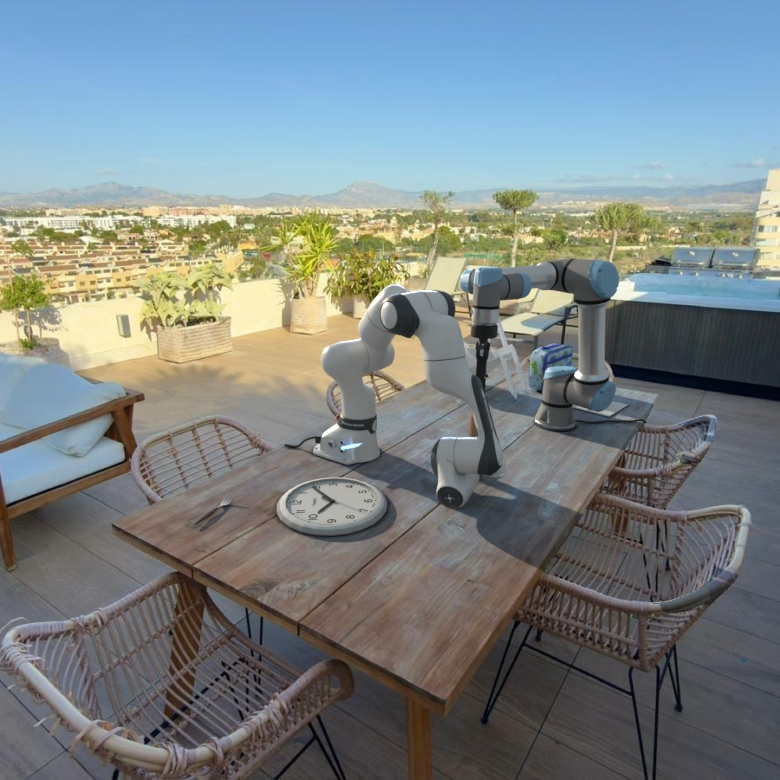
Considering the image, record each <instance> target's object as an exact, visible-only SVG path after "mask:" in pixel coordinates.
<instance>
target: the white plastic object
mask: <svg viewBox="0 0 780 780" xmlns="http://www.w3.org/2000/svg"><path fill="white" fill-rule="evenodd" d="M496 324H497V325H498V335H499V338H500V342H501V345H502V347H500V348H498V349H496V350H495V349H493V348H492V347H491V346H490V350H489V356H488V359H487V366H486V371H487V372H486V374H487V375H489V374H490V373H492V372H494V371H495V370H496V369H497V368H499V367H500V366H502V370H503V373H504V376H505V380H506V383H507V386H508V390H509V393H510V394H511V395H512V397H513V398H514V399H515V400H517V392H516V391H517V390H516V388H515V385H514V381H513V378H512V375H511V371H510V369H509V365H508V361H510V360H513V363H514V366H515V369H516V372H517V376H518V380H519V382H520V385H521V389H522V391H523V393H524V395H525V396H526V397H528V396H531V395H530V390H529V386H528V384H527V381H526V378H525V375H524V371H523V369H522V368H523V367H522V366H521V362H520V359H519V355H518V352H517V349H516V347H515V346H514V345H513V343H511V344H508V341H507V337H506V334H505V331H504V328H503V325H502V321H501V318H500V317H499V322H498V323H496ZM463 342H464V348H465V357H466V362H467V365H468V367H469V369H470V371H471V372H472V374H473V375H475V376H476V365H477V359H476V345H473V346H469V345H468V343H466V342H465V340H464V339H463Z"/></svg>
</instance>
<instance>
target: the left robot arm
mask: <svg viewBox="0 0 780 780" xmlns="http://www.w3.org/2000/svg"><path fill="white" fill-rule="evenodd" d="M455 317H456V302H455V300H454V298H453V297H452V295H451V294H450V293H448V292H447V291H444V290H439V289H432V290H427V289H426V290H425V289H424V290H422V289H421V290H414V291H409V290H408V289H407V288H405V287H403V286H402V285H399V284H390V285H386V286H385V287H384V288H383V289H381V291H380V292H379V293H378V294H377V295H376V297H375V298H374V299H373V300H372V301H371V303H370V304H369V306H368V307H367V309H366V311H365V312H364V314H363V315H362V317H361V319H360V321H359V322H358V325H357V332H358V336H359V338H356V339H351V340H343V341H338V342H335V343H332V344H330V345H327V346H325V347H324V348H323V350H322V352H321V355H320V364H321V368H322V370H323V372H324V373H325V374H326V375H327V376H329V377H330V378H332V379H333V381H335V383H336V384H337V386H338V388H339V392H340V398H341V399H340V400H341V401H340V402H341V410H340V412H339V413H337V415H336V416H335V417H334V421H337V422H336V423H334V424H333V425H331V426H330V427H328V428H327V429H326V430H325V431H324V430H323V431H322V430H320V431H318V432H317V434H316V435H313V436H309V437H306V438H304V439H303V440H302V441H301V442H299V444H296V445H293V444H287V443H284V447H288V448H293V449H294V448H295V449H296V448H300V447H301V446H302V445H303V444H304V443H305V442H308V441H310V440H315V441H314V443H315V444H316V445H315V446H314V447H313V450H312V453H313V456H316V457H317V456H318V457H321V458H324V459H327V460H331V461H333V462H337V463H339V464H343V465H347V466H349V465H354V464H357V463H359V464H360V463H367V462H371V461H374V460H376V459H378V458H379V457H380V455H381V451H380V448H379V444H378V436H377V430H378V414H377V411H376V409H377V407H376V405H377V403H376V401H377V400H376V399H377V398H376V397H377V395H376V391H375V390H374V389H373V387H371V386H370V385H369V384H367V383H366V382H365V383H364V380H363V374H368V373H373V372H379V371H381V370H383V369H386V368H388V367H390V366H391V365H392V364H393V362H394V360H395V357H396V356H395V355H396V352H395V351H396V350H395V347H394V344H393V343H392V341H393V340H394V339H395V337H396V336H400V337H404V338H406V339H411V338H412V337H413V336H414V337H416V338H418V340H419V341H420V345H421V353H422V355H421V356H422V365H423V372H424V376H425V380H426V381H427V383H428V384H429V385H430V386H431V387H432V388H433V389H435V390H437V391H438V392H440V393H443V394H445V395H449V396H452V397H455V398H456V399H459V400H461V401H463V402H464V403H466V404H467V405H468V406H469V408H470V410H471V411H472V414H473V417H474V421H475V425H476V428H477V432H478V437H469V436H441V437H440V438H439V439H437V440H436V441H435V443H434V445H433V447H432V448H431V451H430V465H431V469H432V472H433V474H434V475H435V478H436V479H437V486H436V494H435V495H436V499H437V501H438V502H439V503H440V504H441V505H442V506H444V507H446V508H449V509H459V508H461V507H463V506H464V505H465V504H466V503H467V502H468V501H469V499H470V497H471V496H472V494H473V492H474V489H475V488H476V487H477V485H478V483H479V481H480V480H481V479H483V480H489V481H499V480H501V479H503V477H504V474H505V472H506V465H507V463H506V461H504V452H503V448H502V445H501V443H500V439H499V437H498V433H497V431H496V428H495V424H494V420H493V417H492V414H491V413H492V412H491V409H490V406H489V402H488V401H489V400H488V397H487V398H486V394H487V393H486V390H485V391H484V388H483V385H482V383H481V380H480V379H479V377H477V376H475V375H473V374H472V372H471V371H470V369H469V367H468V365H467V362H466V357H465V348H464V342H465V341H464V342H463V340H464V338H463V334H462V329H461V326H460V324H459V323H460V322H459V321H458V320H457V318H455Z"/></svg>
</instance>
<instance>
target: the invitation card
mask: <svg viewBox="0 0 780 780" xmlns="http://www.w3.org/2000/svg"><path fill="white" fill-rule="evenodd" d="M628 406H629V404H627V403H623V402H618V401H614V400H612V402H611V404H610V405H609V406H608V407H607V408H606V409H605V410H604V411H601V412H596V411H593V410H588V409H586V408H583V407H579V406H576V405H575V406H574V407H573V409H575V410H581V411H584V412H587V413H593V414H596V415H600V416H604V417H608V418H609V417H611V416H613V415H614V414H616V413H617V412H619V411H621V410H623V409H624V408H626V407H628Z"/></svg>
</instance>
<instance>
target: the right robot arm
mask: <svg viewBox="0 0 780 780" xmlns="http://www.w3.org/2000/svg"><path fill="white" fill-rule="evenodd" d="M459 278H460V279H459V286H460V289H461V290H462V291H463V293H466V294H470V295H472V310H470V311H469V314H470V315H471V322H472V323H471V324H470V336H471V337H472V338H475V339H478V341H476V343H475V346H476V359H477V365H476V376H477V377H479V379H480V380H481V383H482V385H483V388H484V391H485V392H486V384H487V383H486V381H487V379H488V378H489V374H486V372H487V371H486V366H487V359H488V356H489V350H490V347H491V342H489V340H490V339H491V340H493V339H497V337H498V334H499V331H498V325H497V324H496V323H498V322H499V318H500V306H501V301H513V300H516V301H517V300H521V299H524V298H526V297H528V296H529V295H530V293H531V291H532V290H535V289H538V290H539V291H554V292H560V293H565V294H571V295H573V303H574V304H575V305H576V306H577V307H578V308H577V309H578V310H577V313H578V314H577V315H578V316H577V317H578V320H577V321H578V322H577V323H578V325H577V326H578V330H577V331H578V333H577V335H578V339H577V340H578V368H577V367H576V366H572V365H571V366H555V367H549V368H547V369H546V371H545V375H544V378H543V379H544V381H543V391H541V392H542V394H541V402H540V405H539V407H538V410H537V411H536V413H535V416H534V424H535V425H536V426H537V427H539V428H542V429H544V430H549V431H556V432H567V431H572V430H574V429H575V428H576V423H582V424H601V423H636V422H643V423H644V424H647V423H648V422H647V421H646V420H645V419H643V418H637V419H632V420H631V419H629V420H626V419H622V420H621V419H604V420H593V421H591V420H590V421H588V420H582V419H576V418H575V417H576V416H575V413H574V407H573V406H575V407H576V406H579V407H583V408H586V409H588V410H593V411H596V412H601V411H604V410H605V409H606V408H607V407H608V406H609V405H610V404H611V402H612V401H614V398H615V395H616V392H617V386H616V384H615V383H614V382H613V381H611V380H610V373H609V371H607V370H606V368H605V359H606V358H605V356H606V355H605V354H606V353H605V352H606V308H607V307H606V306H607V305H608V304H609V302H610V301H611V300H612V299H611V298H613V297H614V296H615V294H616V293H617V291H618V288H619V285H620V275H619V271H618V268H617V267H616V265H615V264H614V263H613V262H611V261H608V260H602V259H590V258H589V259H587V258H574V257H573V258H571V257H570V258H561V259H555V260H554V259H553V260H547V261H541V262H539V263H537V264H536V265H525V266H512V267H499V266H478V267H476V268H468V269H465V270H464V271H463V272H462V273H461V275H460V277H459Z"/></svg>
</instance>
